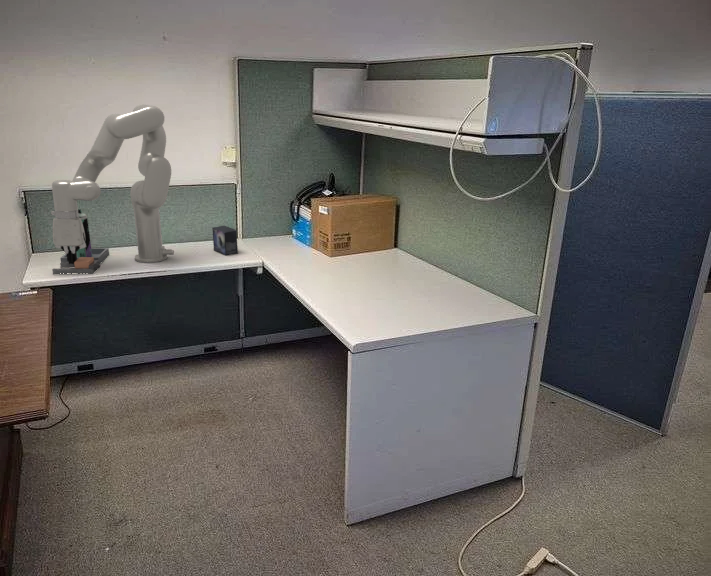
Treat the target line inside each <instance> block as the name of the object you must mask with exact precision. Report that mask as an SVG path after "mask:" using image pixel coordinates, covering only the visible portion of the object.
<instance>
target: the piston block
mask: <svg viewBox="0 0 711 576" xmlns="http://www.w3.org/2000/svg"><path fill="white" fill-rule="evenodd" d="M93 261H94V257H80V258H78V259H77V260H76V261H75V262H74V264H75V268H89V265H90V264H91V263H92V262H93Z"/></svg>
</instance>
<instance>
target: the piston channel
mask: <svg viewBox="0 0 711 576" xmlns="http://www.w3.org/2000/svg"><path fill="white" fill-rule="evenodd" d="M59 264H60V268H52V269H51V270H52V275H53V274H59V275H68V274H67V273H71V274H70V275H73V274H72V273H78V274H77V275H94V274H95V273H96V272H97V271H98V270H99V269H100V268H101V264H100V262H99V261H98V260H94V261H93V262H92V263H91V264H90V265H89V268H61V267H75V264H69V262H61V261H60V262H59ZM98 268H99V269H98ZM97 269H98V270H97ZM96 270H97V271H96ZM95 271H96V272H95ZM94 272H95V273H94ZM60 273H61V274H60ZM63 273H64V274H63ZM80 273H82V274H80ZM83 273H85V274H83ZM86 273H88V274H86ZM93 273H94V274H93Z"/></svg>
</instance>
